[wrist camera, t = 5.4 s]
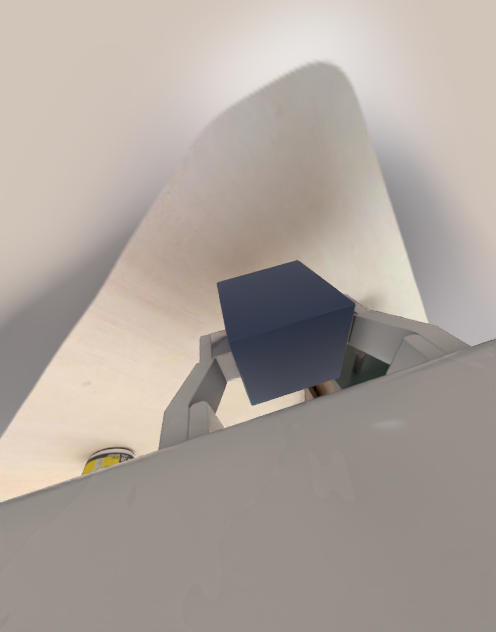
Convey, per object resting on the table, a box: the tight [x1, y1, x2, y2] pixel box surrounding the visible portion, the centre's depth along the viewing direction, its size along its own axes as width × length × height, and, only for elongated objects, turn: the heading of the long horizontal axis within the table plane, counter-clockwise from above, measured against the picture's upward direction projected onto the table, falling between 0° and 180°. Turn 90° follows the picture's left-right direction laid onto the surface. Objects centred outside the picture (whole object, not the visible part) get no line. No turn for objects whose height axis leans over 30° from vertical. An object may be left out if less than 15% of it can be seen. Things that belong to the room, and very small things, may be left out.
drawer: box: [316, 344, 390, 397], centre depth 24 cm, size 18×11×8 cm, turn 11°
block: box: [217, 260, 356, 406], centre depth 9 cm, size 4×4×4 cm
